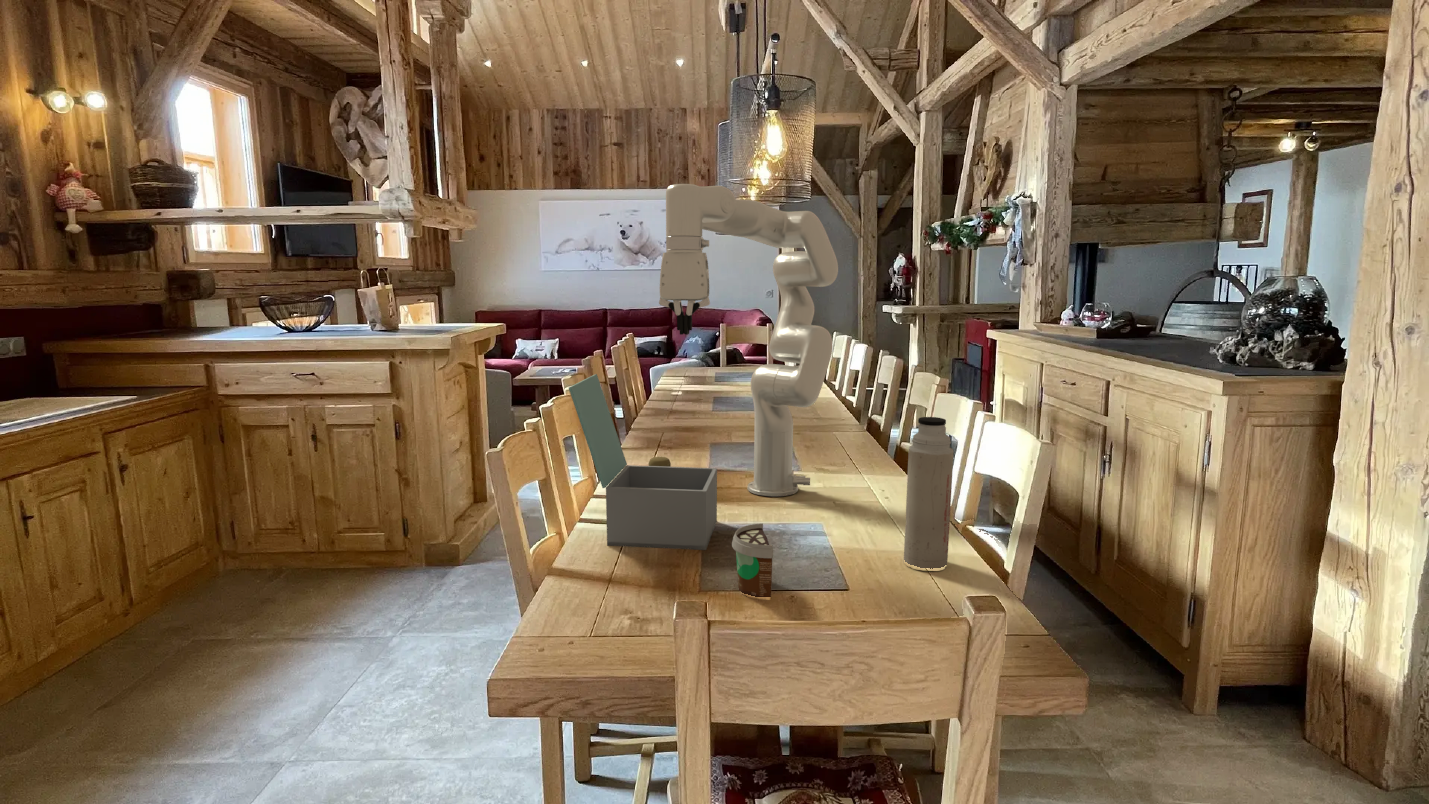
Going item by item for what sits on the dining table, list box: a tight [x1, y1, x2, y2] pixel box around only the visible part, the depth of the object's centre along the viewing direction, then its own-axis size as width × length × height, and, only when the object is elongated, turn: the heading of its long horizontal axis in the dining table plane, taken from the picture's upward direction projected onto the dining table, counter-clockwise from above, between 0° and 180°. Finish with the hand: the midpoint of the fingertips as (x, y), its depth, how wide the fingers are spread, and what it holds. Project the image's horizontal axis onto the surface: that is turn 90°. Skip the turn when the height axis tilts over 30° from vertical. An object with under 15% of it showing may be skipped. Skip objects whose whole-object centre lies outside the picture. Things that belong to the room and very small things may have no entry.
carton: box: [605, 464, 718, 551], centre depth 165 cm, size 20×18×12 cm
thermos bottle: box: [903, 416, 955, 569], centre depth 146 cm, size 8×8×28 cm
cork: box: [647, 456, 672, 467], centre depth 186 cm, size 6×6×11 cm
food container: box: [731, 523, 774, 598], centre depth 136 cm, size 12×6×10 cm, turn 5°
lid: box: [568, 373, 628, 489], centre depth 164 cm, size 21×19×1 cm
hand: (684, 333), depth 167 cm, fingers closed
